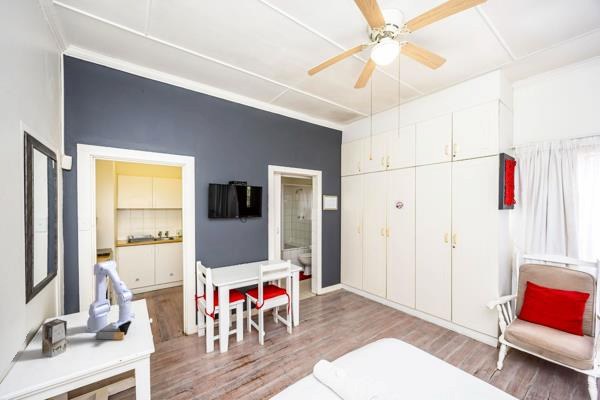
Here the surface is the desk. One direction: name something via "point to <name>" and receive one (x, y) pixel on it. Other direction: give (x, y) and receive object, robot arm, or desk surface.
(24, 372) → the desk surface
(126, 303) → the robot arm
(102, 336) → the side door
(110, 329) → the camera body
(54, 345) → the coffee box
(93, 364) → the desk surface
